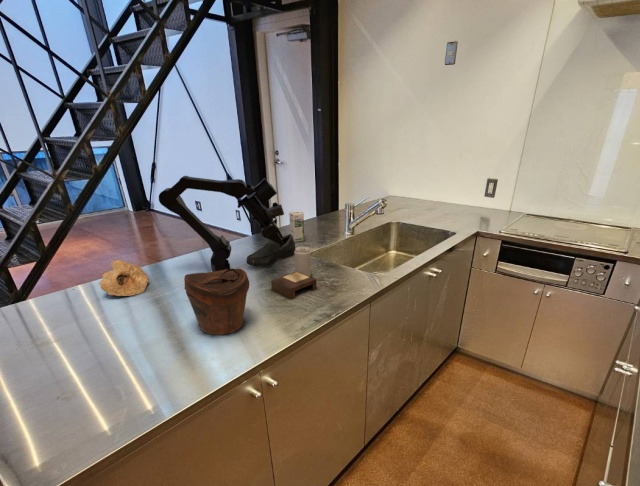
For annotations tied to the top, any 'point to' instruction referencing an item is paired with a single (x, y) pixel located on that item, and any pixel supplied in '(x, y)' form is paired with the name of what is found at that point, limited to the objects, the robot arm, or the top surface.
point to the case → (218, 299)
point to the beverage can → (302, 260)
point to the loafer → (272, 252)
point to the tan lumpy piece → (124, 279)
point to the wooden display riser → (292, 284)
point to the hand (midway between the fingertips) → (282, 241)
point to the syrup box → (297, 225)
